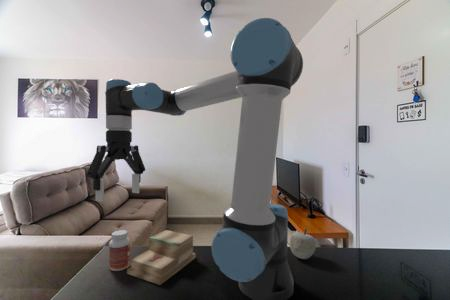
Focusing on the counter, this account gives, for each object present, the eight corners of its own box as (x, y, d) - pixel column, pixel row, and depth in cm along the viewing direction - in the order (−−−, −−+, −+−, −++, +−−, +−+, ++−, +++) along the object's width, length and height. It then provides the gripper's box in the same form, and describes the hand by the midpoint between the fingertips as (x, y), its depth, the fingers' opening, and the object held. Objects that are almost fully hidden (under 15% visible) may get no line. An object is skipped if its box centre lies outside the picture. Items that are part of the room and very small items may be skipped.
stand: (195, 257, 82) (195, 234, 82) (160, 285, 66) (160, 256, 66) (166, 250, 88) (166, 228, 88) (127, 273, 72) (126, 247, 71)
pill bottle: (132, 268, 75) (131, 233, 75) (110, 274, 72) (110, 237, 71) (128, 260, 80) (127, 227, 80) (108, 265, 77) (107, 231, 76)
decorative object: (287, 260, 81) (287, 231, 80) (292, 250, 89) (292, 223, 88) (314, 266, 77) (315, 235, 77) (317, 255, 85) (317, 227, 84)
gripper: (140, 132, 88) (140, 188, 88) (71, 127, 65) (72, 203, 66) (155, 132, 84) (155, 190, 85) (89, 127, 62) (89, 207, 63)
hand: (119, 196), depth 75 cm, fingers open, 13 cm apart
